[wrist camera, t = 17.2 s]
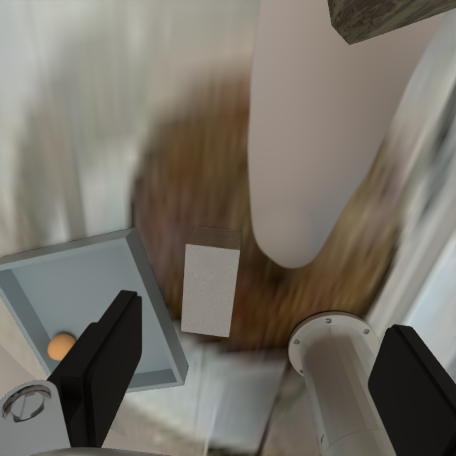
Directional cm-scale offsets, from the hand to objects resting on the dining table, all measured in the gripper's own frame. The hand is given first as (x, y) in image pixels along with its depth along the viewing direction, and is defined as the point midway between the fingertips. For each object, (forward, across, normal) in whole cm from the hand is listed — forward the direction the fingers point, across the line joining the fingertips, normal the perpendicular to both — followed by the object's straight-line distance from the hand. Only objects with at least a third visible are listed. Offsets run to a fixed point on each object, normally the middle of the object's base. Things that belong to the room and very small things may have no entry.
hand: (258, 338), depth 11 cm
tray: (+26, +20, +22) cm, 39 cm away
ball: (+24, +25, +27) cm, 43 cm away
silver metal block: (+26, +4, +12) cm, 29 cm away
